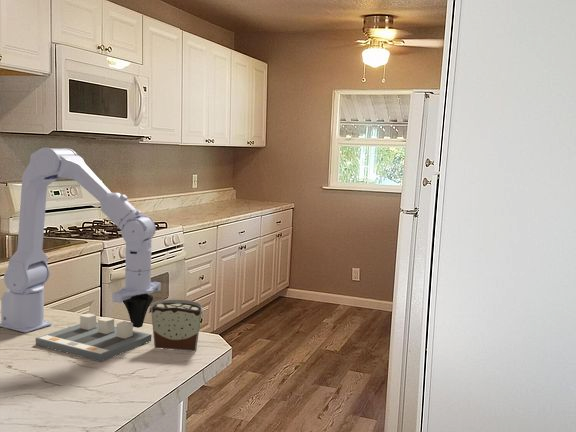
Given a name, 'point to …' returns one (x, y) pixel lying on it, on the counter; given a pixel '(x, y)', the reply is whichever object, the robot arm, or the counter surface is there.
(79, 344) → the switch board
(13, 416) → the counter surface
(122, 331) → the tab
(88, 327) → the beige small block
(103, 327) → the tab
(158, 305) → the food container
